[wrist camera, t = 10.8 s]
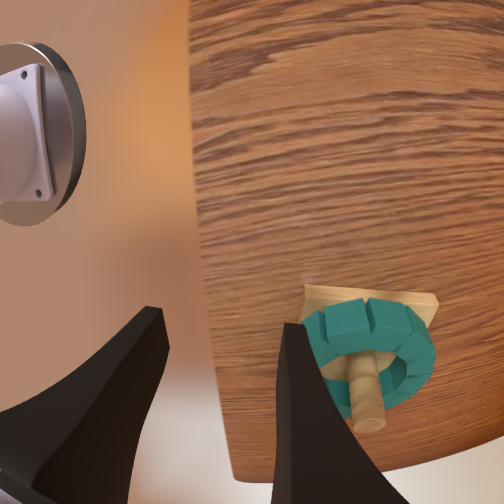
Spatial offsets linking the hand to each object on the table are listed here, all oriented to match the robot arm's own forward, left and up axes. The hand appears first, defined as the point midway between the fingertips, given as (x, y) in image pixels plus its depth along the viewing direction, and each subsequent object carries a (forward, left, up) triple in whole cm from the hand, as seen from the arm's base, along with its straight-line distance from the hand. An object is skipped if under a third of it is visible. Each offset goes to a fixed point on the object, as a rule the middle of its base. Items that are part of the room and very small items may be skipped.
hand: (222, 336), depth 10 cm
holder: (+8, -8, -8) cm, 14 cm away
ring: (+8, -9, -7) cm, 13 cm away
